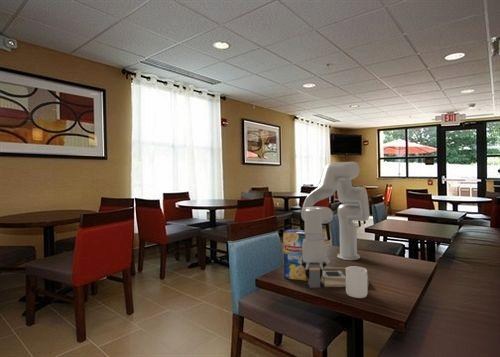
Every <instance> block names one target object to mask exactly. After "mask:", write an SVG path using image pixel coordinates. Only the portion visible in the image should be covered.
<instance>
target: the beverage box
mask: <svg viewBox="0 0 500 357" xmlns="http://www.w3.org/2000/svg"><path fill="white" fill-rule="evenodd" d="M282 235H283V237H282V238H283V241H282V242H283V245H282V246H283V278H285V279H290V280H298V281H306V282H308V278H307V276H306V275H305V268H304V267H303V266H302V265H301V264H299V263H298V261H297V260H298V259H299V258H300V256H301V255H302V242H303V239H305V230H299V229H285V230H284V231H283V232H282ZM302 262H303V260H302ZM303 263H304V264H305V262H303Z"/></svg>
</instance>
